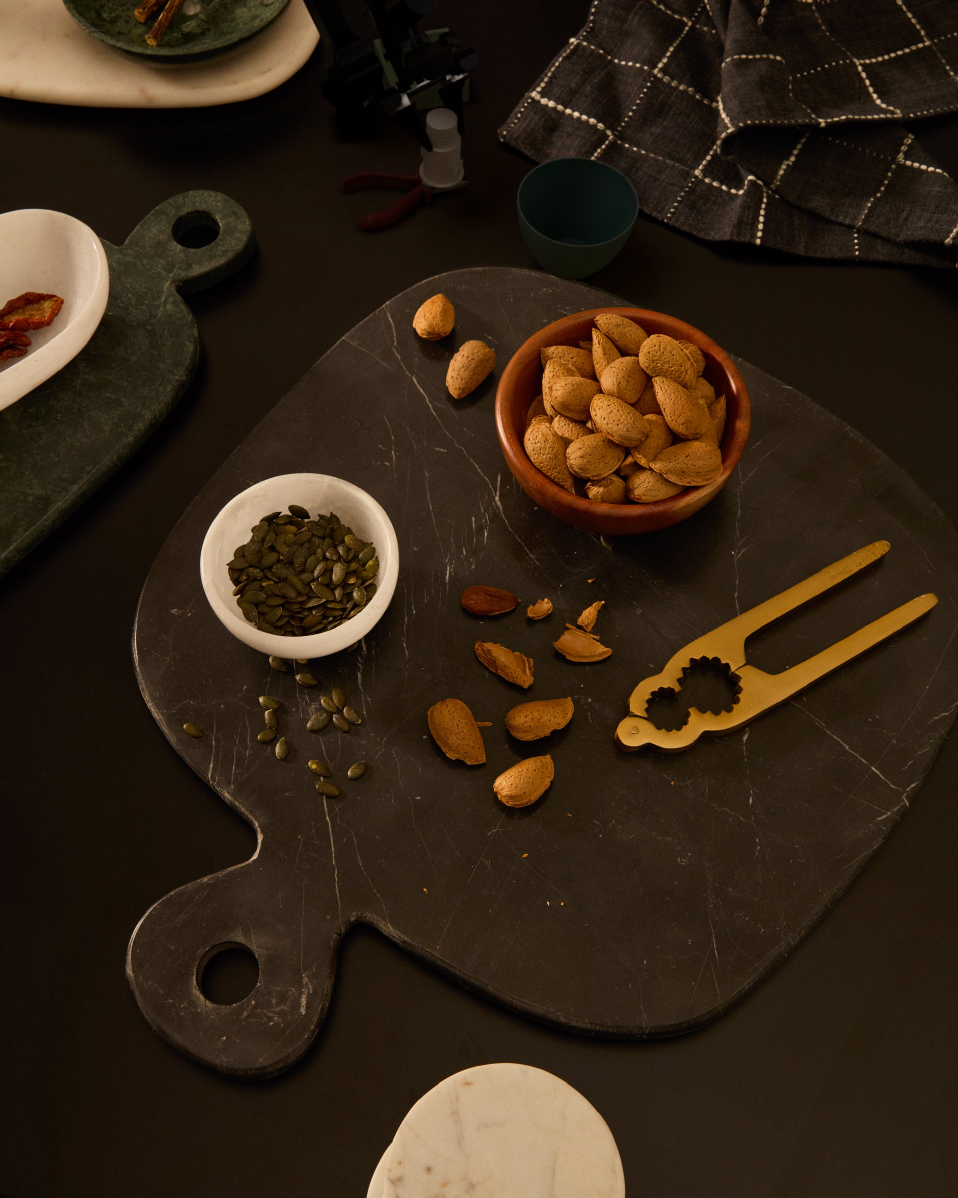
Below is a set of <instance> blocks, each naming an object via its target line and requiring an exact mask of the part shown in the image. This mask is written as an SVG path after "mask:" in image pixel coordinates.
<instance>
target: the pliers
mask: <svg viewBox="0 0 958 1198" xmlns="http://www.w3.org/2000/svg"><path fill="white" fill-rule="evenodd" d="M463 169H464V173H465V172H466V169H465V168H463ZM470 184H471V181H470V180H469V181H468V180H461V181H460V182H459V183H458V184H456V185H454V186H452V187H448V188H436V187H433V186H430V185H428V184H427V183H425V182H424V181H423V180H422V178H421V177H420V173H419V170H415V171H414V175H406V174H401V173H400V174H399V173H392V172H384V171H373V170H372V171H371V170H370V171H362V172H359V173H356V174H352V175H348V176H346V177H345V178H344V179H343V180H342V187H343V189H344V190H345V191H347V192H353V191H356V190H359V189H363V188H369V187H379V188H387V189H393V190H402V191H409V192H407V194H406V195H404V196H403V197H402V198H401V199H399V200H398V201H397V202H396V203H394V204H393V205H392V206H390V207H389V208H387V209H386V210H383V211H382V212H375V213H372V214H371V213H370V214H367V215H364V216H362V217H361V218H360V219H359V226H360V228H361V229H362V230H364V231H371V230H376V229H380V228H386V227H387V226H389V225H392V224H394V223H395V222H397V221H399V219H401V218H402V217H403V216H404V215H405V214H407V213H408V212H409V211H410V210H412V209H413V208H414V207H416V205H418V204H419V203H420V202H422V203H424V204H426V205H429V204H430V203H431V202H432V194H440V193H444V192H448V191H452V190H454V189H458V188H461V187H464V186H467V185H470Z"/></svg>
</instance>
